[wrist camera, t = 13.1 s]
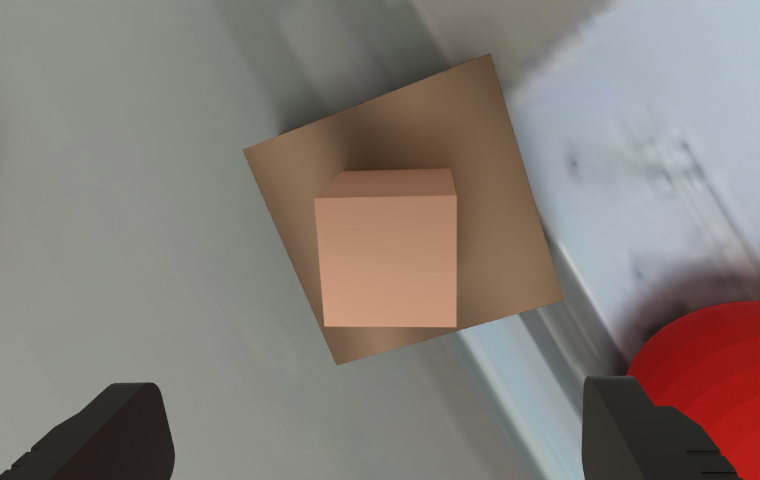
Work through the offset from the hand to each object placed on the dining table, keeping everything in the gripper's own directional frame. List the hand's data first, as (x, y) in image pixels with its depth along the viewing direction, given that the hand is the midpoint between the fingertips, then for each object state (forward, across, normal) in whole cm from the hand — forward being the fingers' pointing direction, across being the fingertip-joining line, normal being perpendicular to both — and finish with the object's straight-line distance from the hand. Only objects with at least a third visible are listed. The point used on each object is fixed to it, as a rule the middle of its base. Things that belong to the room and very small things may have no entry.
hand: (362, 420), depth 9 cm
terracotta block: (+15, 0, 0) cm, 15 cm away
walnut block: (+21, 0, 0) cm, 21 cm away
